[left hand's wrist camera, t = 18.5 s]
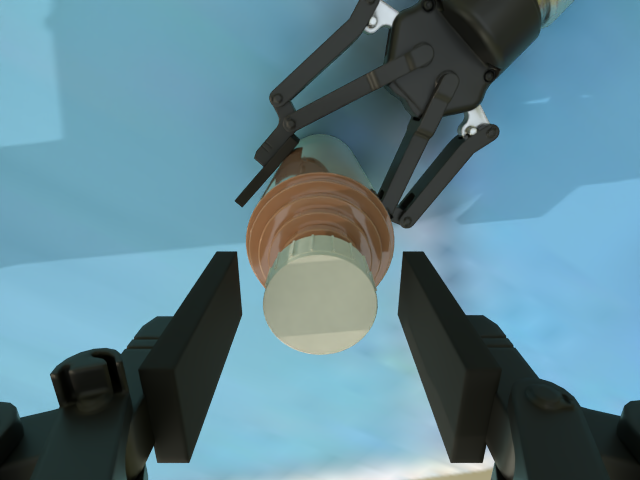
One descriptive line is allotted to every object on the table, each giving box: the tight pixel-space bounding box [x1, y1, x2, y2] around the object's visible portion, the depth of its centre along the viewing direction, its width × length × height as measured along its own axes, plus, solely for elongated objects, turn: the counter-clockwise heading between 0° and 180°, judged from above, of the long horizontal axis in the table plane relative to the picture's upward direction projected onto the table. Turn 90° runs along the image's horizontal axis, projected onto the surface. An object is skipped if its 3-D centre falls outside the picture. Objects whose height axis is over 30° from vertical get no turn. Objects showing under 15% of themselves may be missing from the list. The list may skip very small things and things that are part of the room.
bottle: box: [246, 134, 394, 289], centre depth 25 cm, size 7×7×24 cm
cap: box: [263, 234, 377, 355], centre depth 14 cm, size 4×4×2 cm
